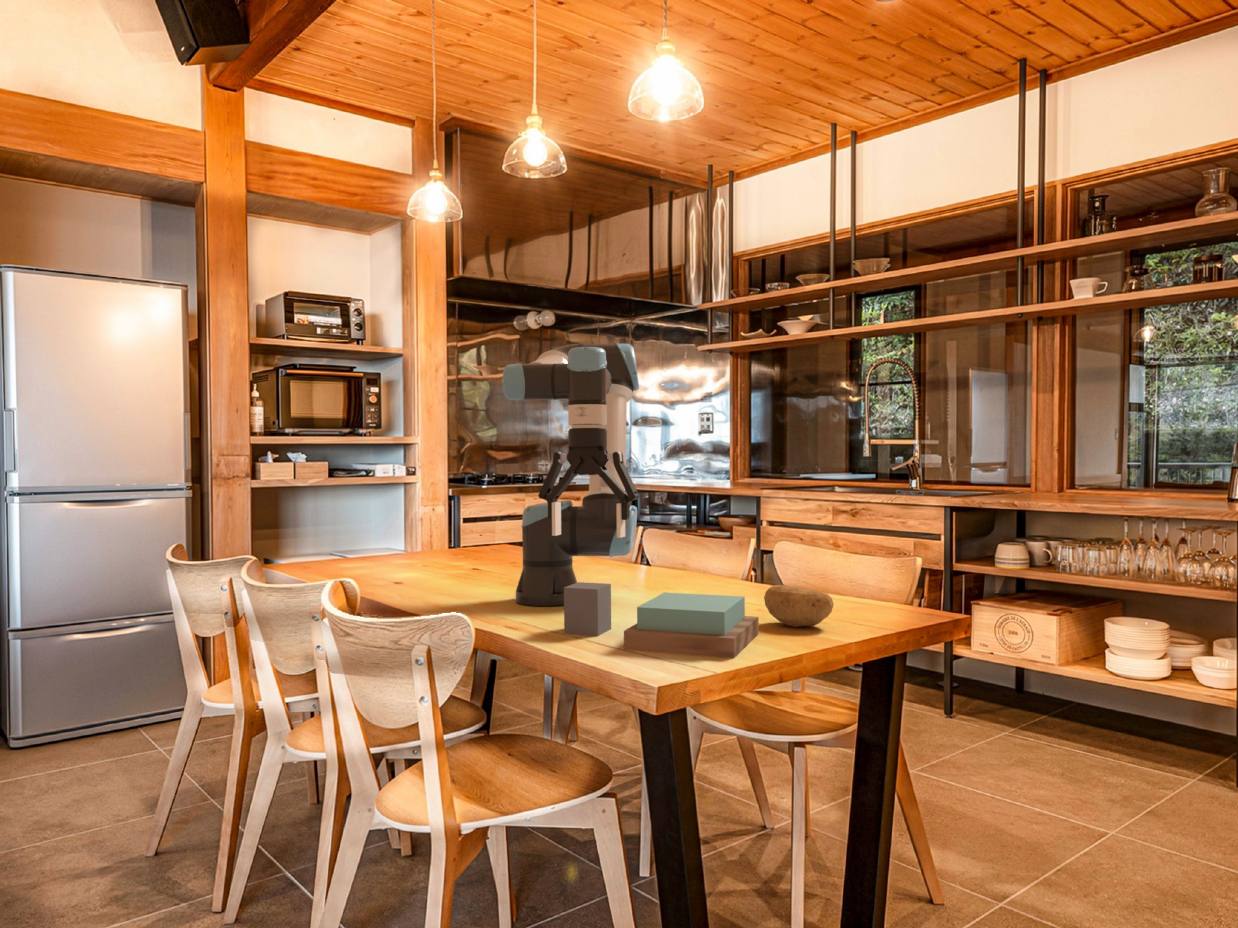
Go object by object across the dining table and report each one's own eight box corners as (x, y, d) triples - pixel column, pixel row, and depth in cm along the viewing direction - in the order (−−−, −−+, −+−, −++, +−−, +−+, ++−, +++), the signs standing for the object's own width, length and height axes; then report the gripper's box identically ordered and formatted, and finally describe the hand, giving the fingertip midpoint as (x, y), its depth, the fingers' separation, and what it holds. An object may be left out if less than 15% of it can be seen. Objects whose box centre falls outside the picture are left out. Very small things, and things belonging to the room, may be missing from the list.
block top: (664, 612, 172) (664, 592, 172) (744, 617, 166) (744, 596, 166) (637, 629, 157) (637, 607, 157) (724, 635, 151) (724, 612, 151)
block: (578, 626, 176) (578, 582, 175) (611, 629, 173) (610, 583, 173) (564, 633, 169) (563, 587, 169) (597, 636, 167) (597, 589, 166)
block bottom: (659, 630, 174) (658, 610, 174) (758, 637, 167) (758, 616, 167) (624, 653, 156) (623, 630, 155) (734, 661, 148) (734, 638, 148)
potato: (821, 634, 166) (821, 592, 166) (755, 626, 175) (755, 586, 175) (842, 626, 174) (842, 586, 174) (778, 618, 182) (778, 580, 182)
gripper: (521, 427, 171) (522, 536, 172) (641, 425, 162) (642, 539, 163) (537, 428, 178) (538, 532, 179) (654, 426, 169) (655, 535, 170)
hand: (588, 536), depth 171 cm, fingers open, 13 cm apart
